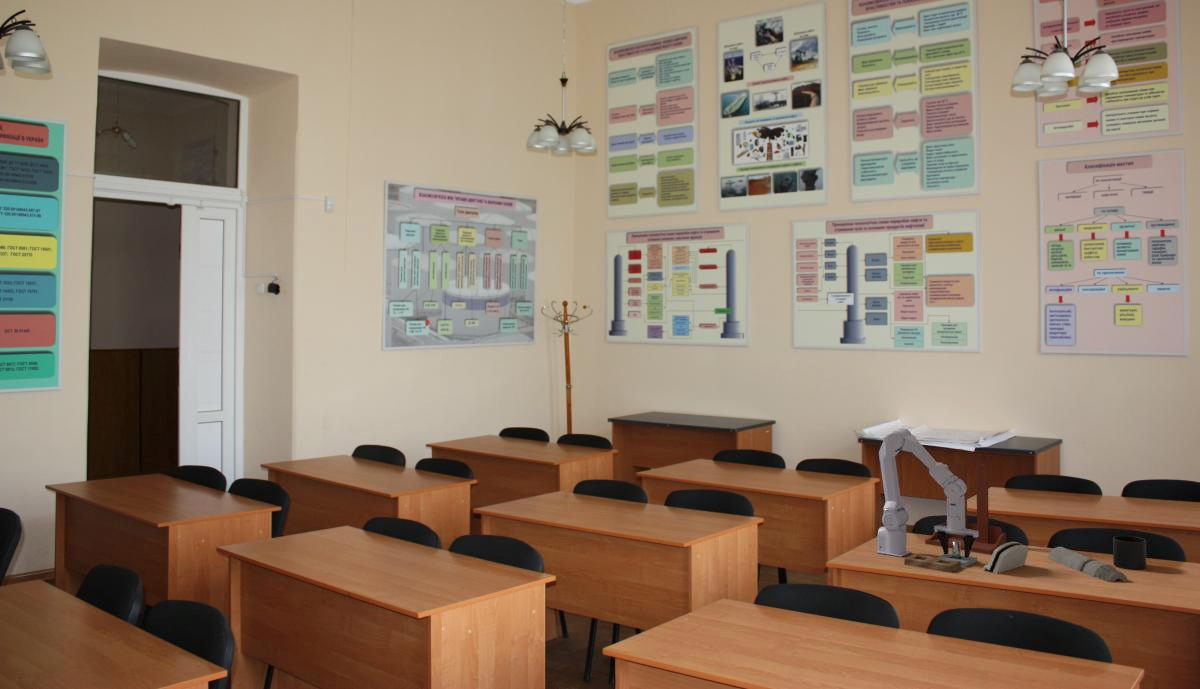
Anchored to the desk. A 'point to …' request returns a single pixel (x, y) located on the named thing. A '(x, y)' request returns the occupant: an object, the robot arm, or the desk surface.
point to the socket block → (964, 561)
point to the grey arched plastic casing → (1007, 557)
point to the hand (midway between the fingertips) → (956, 555)
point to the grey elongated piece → (1086, 564)
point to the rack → (932, 563)
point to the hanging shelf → (987, 534)
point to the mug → (1129, 552)
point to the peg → (956, 550)
